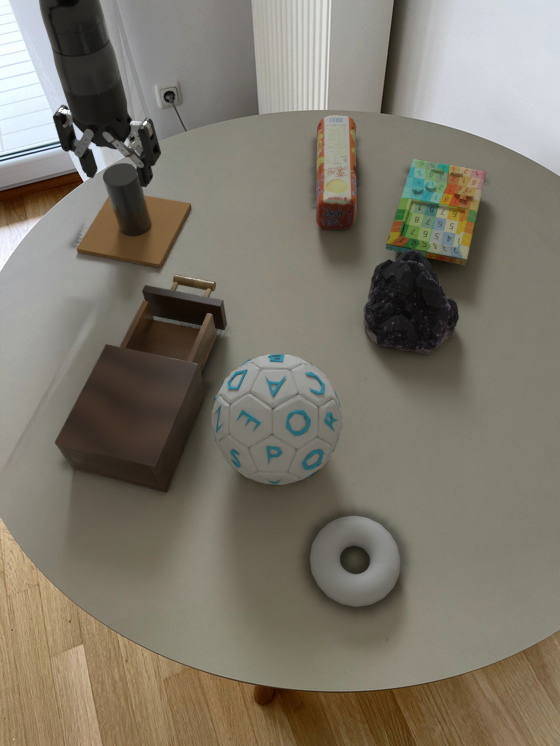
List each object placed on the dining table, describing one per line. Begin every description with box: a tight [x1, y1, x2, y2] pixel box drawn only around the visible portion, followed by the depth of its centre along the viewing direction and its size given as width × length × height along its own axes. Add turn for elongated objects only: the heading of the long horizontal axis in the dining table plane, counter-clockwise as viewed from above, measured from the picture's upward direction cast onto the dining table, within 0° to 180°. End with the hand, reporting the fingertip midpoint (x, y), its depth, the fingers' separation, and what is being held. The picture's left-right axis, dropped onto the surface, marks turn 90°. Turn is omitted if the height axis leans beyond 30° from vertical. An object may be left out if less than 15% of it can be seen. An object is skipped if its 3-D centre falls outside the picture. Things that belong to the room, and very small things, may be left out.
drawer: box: [119, 273, 228, 374], centre depth 88 cm, size 18×11×5 cm, turn 164°
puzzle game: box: [385, 158, 487, 266], centre depth 100 cm, size 12×5×20 cm
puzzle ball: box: [211, 353, 343, 486], centre depth 75 cm, size 15×15×15 cm
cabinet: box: [54, 343, 207, 493], centre depth 81 cm, size 15×13×7 cm
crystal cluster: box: [363, 249, 460, 355], centre depth 88 cm, size 13×14×10 cm
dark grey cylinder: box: [102, 162, 152, 236], centre depth 100 cm, size 5×5×10 cm
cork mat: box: [76, 195, 192, 269], centre depth 104 cm, size 14×14×1 cm
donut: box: [309, 515, 402, 608], centre depth 72 cm, size 10×4×10 cm
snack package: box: [315, 114, 358, 231], centre depth 105 cm, size 21×7×7 cm, turn 177°
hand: (119, 178), depth 96 cm, fingers open, 8 cm apart
